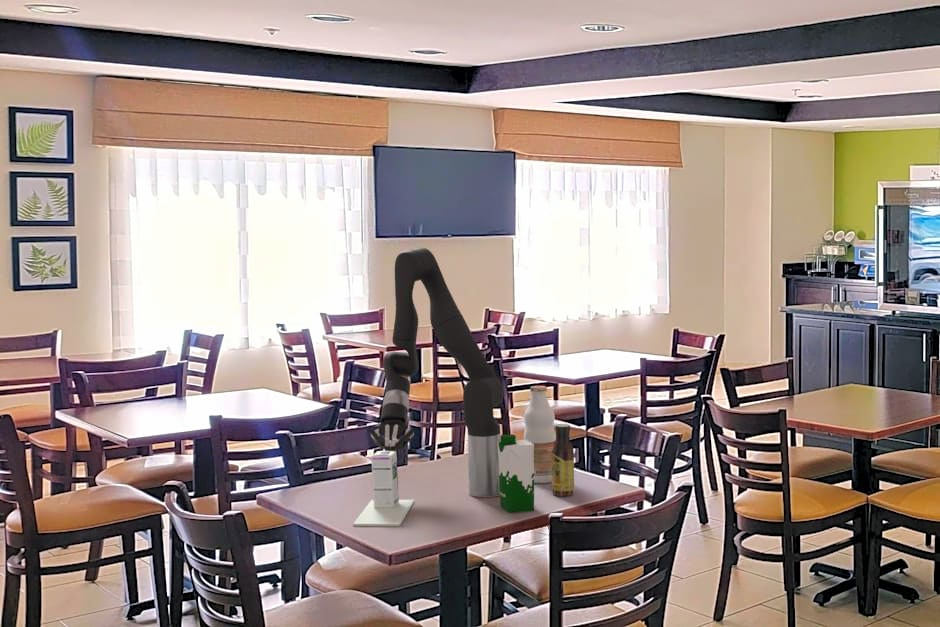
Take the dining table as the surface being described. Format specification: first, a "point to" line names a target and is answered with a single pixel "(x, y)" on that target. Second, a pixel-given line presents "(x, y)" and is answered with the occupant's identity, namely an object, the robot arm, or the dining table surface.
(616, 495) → the dining table surface
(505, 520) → the dining table surface
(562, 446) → the sauce bottle
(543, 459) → the fruit juice
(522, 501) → the milk carton
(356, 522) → the mat
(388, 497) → the syrup box
